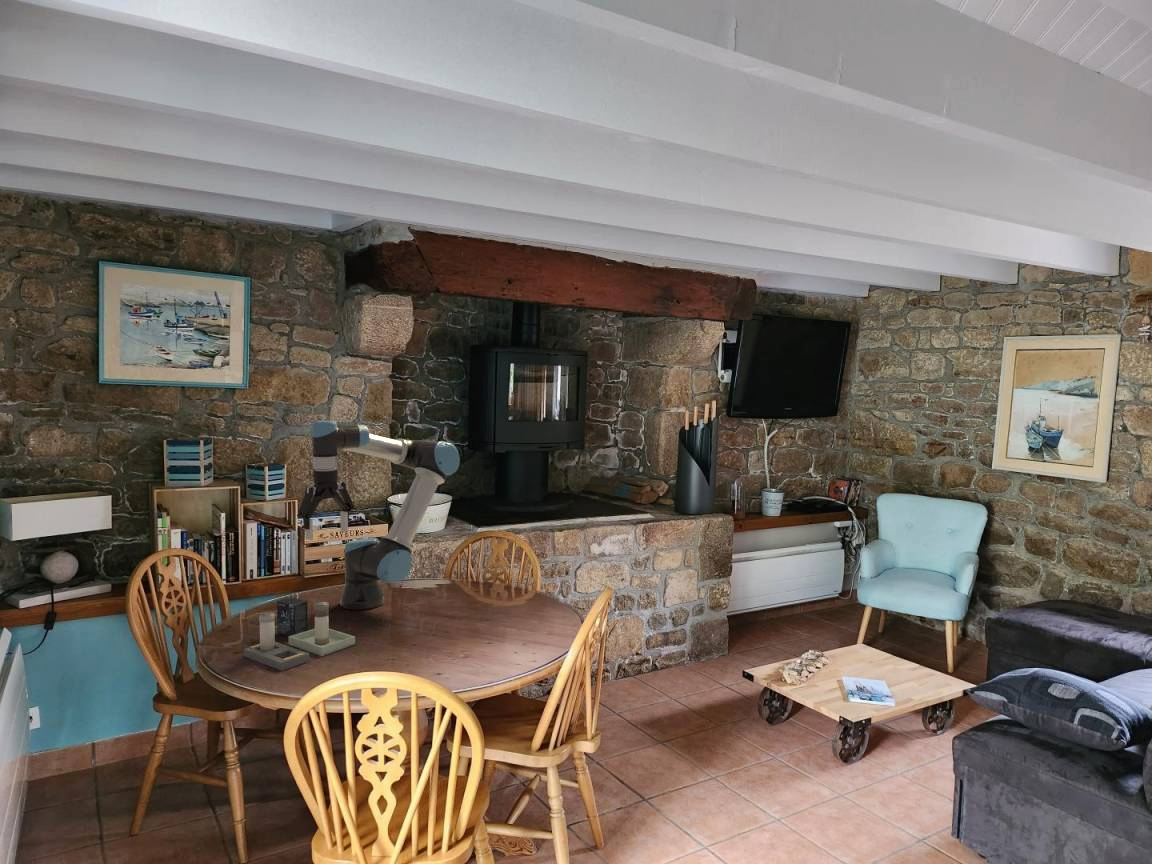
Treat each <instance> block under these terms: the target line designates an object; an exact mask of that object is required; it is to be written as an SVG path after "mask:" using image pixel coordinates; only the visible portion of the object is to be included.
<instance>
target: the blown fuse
mask: <svg viewBox="0 0 1152 864" xmlns="http://www.w3.org/2000/svg"><path fill="white" fill-rule="evenodd" d="M329 604H330V603H329V602H328V601H317V602H315V603H314V604H313V609H314V610H313V611H314V613H313V615H314V629H315V644H316V645H325V644H328V643H329V629H330V625H329V623H330V622H329V619H330V618H329V617H330V616H329V615H330V614H329V611H330V610H329V609H330V607H329V606H330V605H329Z"/></svg>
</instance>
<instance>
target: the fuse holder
mask: <svg viewBox="0 0 1152 864" xmlns="http://www.w3.org/2000/svg"><path fill="white" fill-rule="evenodd" d="M243 652H244V655H243V657H245V658H247V659H250V660H252V661H255V662H258V663H261V664H262V665H266V666H268V667H271V668H274V669H276V670H279V671H281V672H282V671H284V670H288V669H290V668H291V669H292V668H293V667H296V666H299V665H303V664H305V663H308V662H310V661H311V660H310V659H311V658H310V656H311V655H310V652H307V651H305V650H304V651H303V650H302V649H299V648H296V647H295V648H294V647H293V646H290V645H286V644H283V643H281V642H278V641H275V649H274V650H270V651H267V652H263V651H260V643H258V644H254V645H252V646H249V647H247V648H244V649H243Z"/></svg>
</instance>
